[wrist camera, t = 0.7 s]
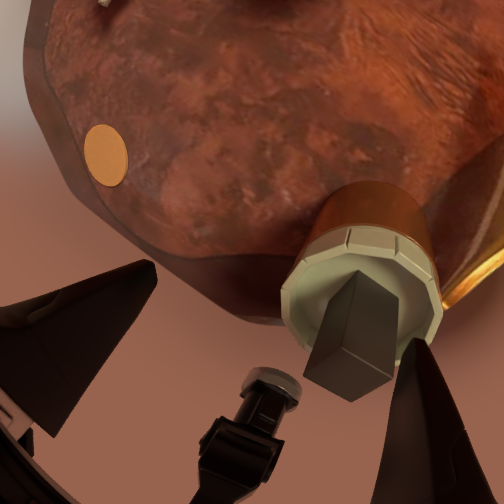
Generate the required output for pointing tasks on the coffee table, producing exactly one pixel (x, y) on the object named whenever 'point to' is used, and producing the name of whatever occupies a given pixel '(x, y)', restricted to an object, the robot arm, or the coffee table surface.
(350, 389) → the block
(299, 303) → the jar
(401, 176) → the coffee table surface
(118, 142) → the coaster
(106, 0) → the seashell
